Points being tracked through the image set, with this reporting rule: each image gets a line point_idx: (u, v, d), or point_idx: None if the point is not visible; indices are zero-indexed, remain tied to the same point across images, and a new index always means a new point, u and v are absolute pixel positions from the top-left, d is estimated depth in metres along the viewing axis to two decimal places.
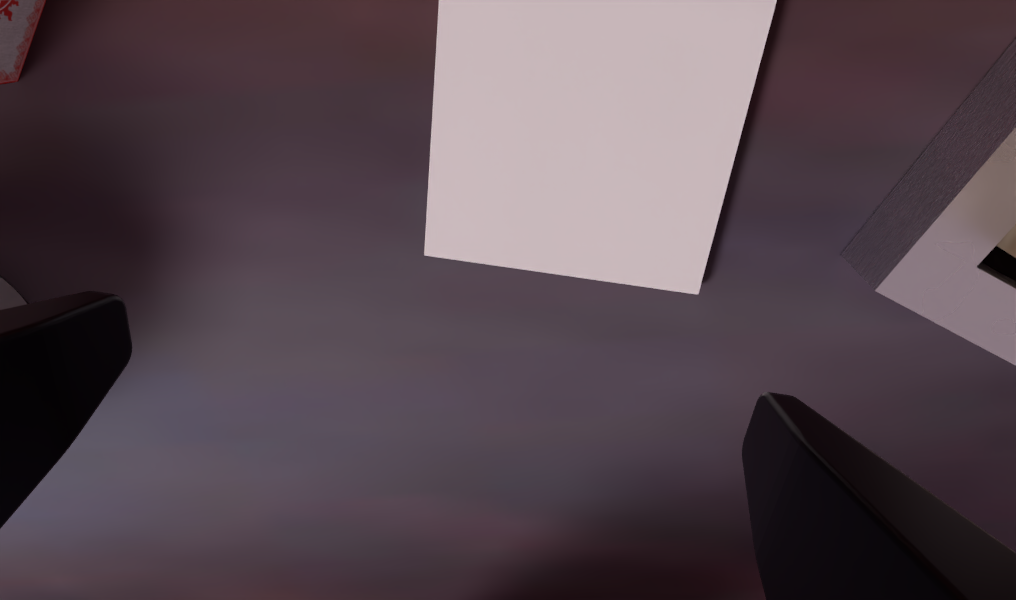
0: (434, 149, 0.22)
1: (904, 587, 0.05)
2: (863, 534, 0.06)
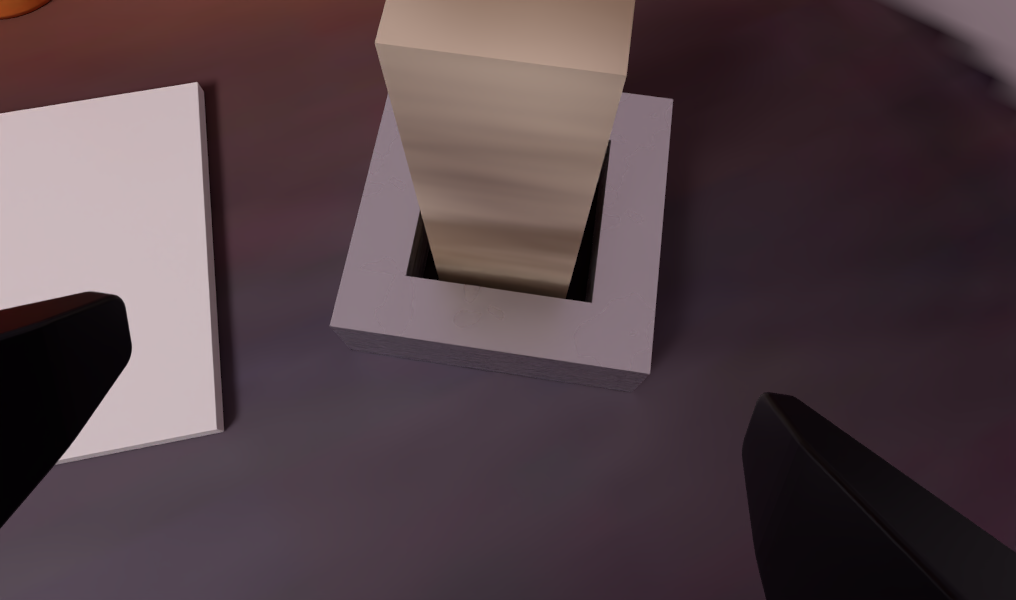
0: None
1: (904, 587, 0.05)
2: (863, 534, 0.06)
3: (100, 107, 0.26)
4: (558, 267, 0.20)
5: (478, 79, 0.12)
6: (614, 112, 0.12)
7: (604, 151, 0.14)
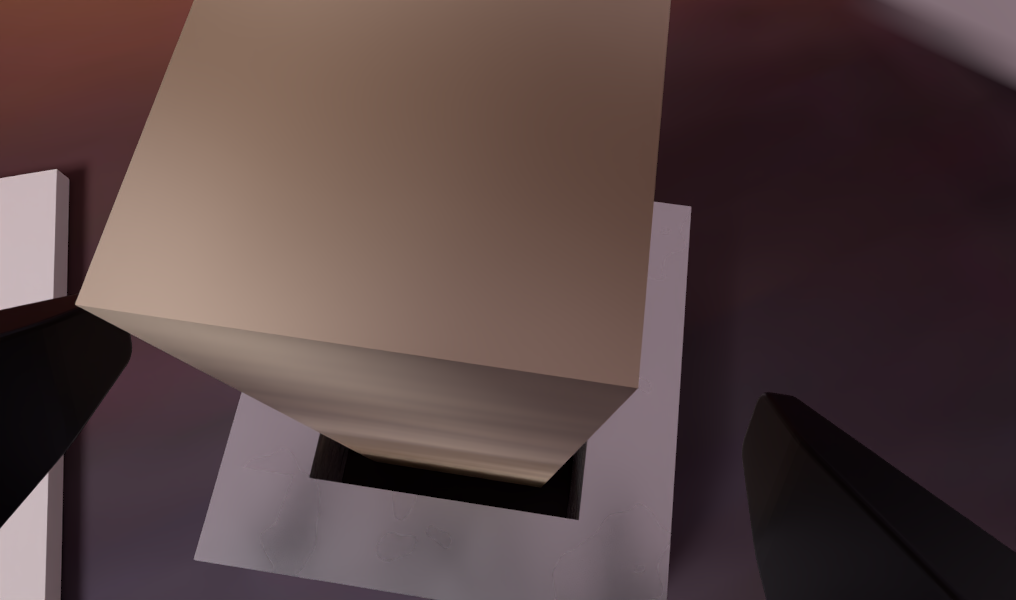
0: None
1: (904, 587, 0.05)
2: (863, 534, 0.06)
3: None
4: (529, 473, 0.14)
5: (324, 358, 0.06)
6: (611, 411, 0.06)
7: (592, 432, 0.07)
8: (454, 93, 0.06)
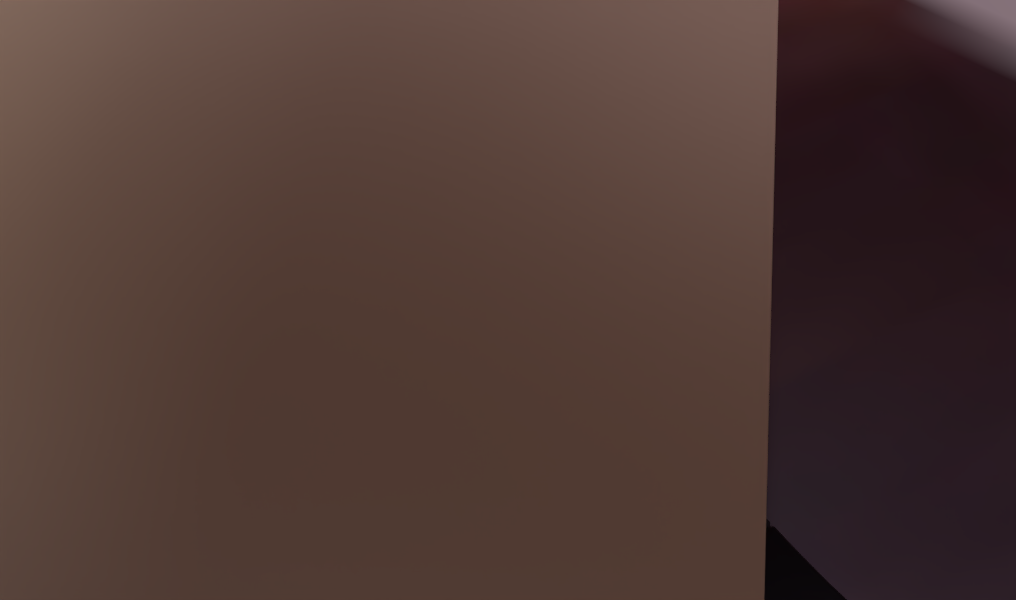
0: None
1: None
2: None
3: None
4: None
5: None
6: None
7: None
8: (309, 319, 0.03)
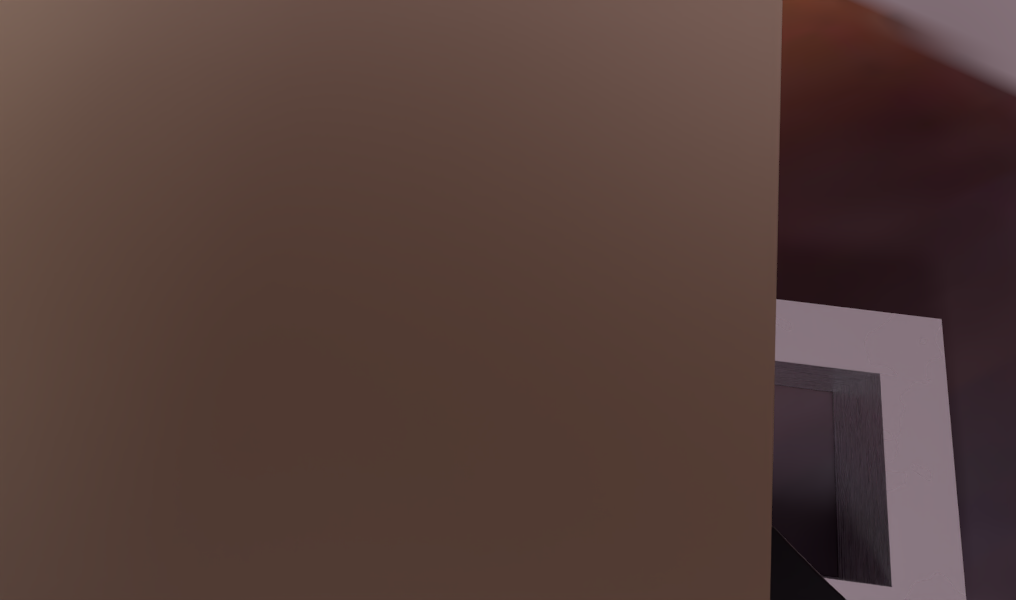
0: None
1: None
2: None
3: None
4: None
5: None
6: None
7: None
8: (316, 314, 0.03)
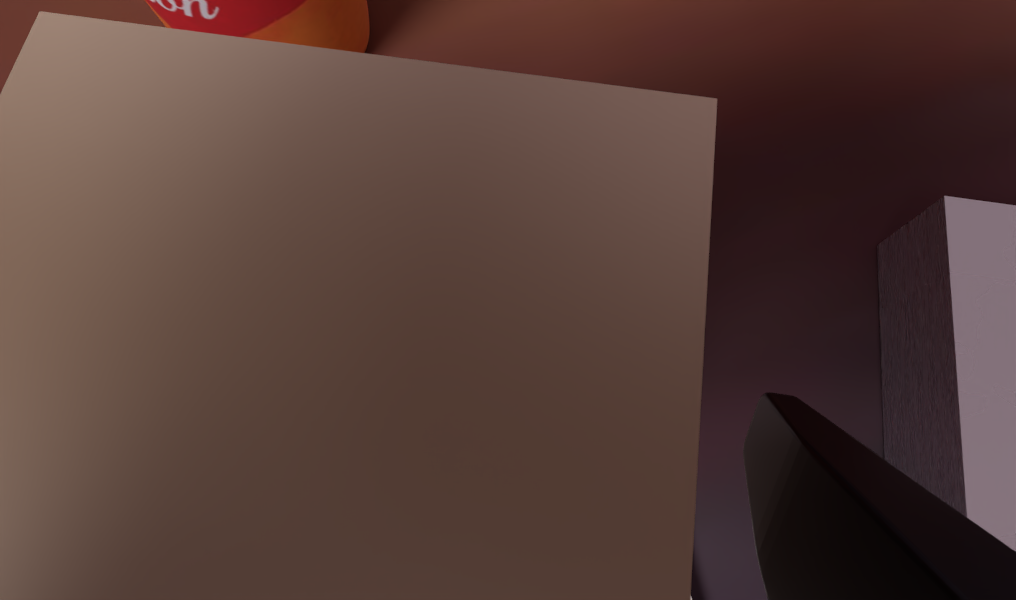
0: None
1: (906, 587, 0.05)
2: (865, 534, 0.06)
3: None
4: None
5: None
6: None
7: None
8: (360, 367, 0.04)
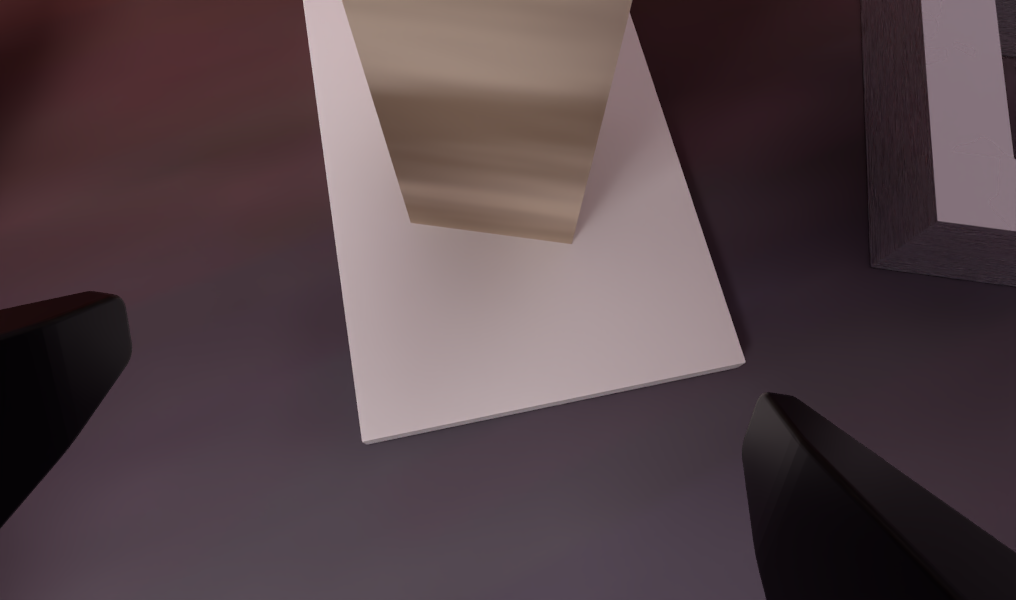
0: (347, 294, 0.17)
1: (904, 587, 0.05)
2: (863, 534, 0.06)
3: None
4: (567, 173, 0.14)
5: None
6: None
7: None
8: None
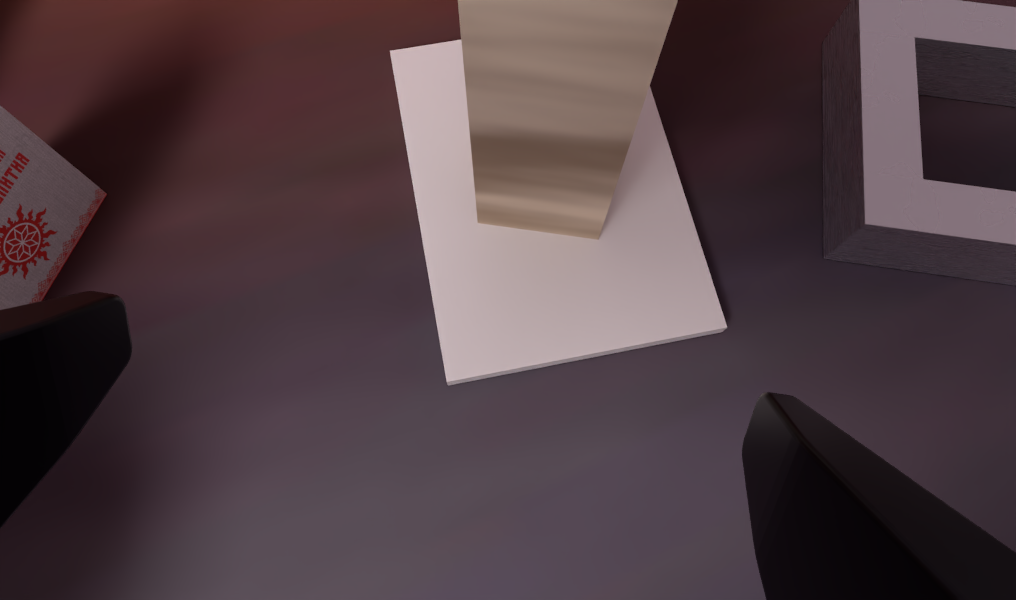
0: (432, 276, 0.23)
1: (904, 587, 0.05)
2: (863, 534, 0.06)
3: None
4: (599, 188, 0.20)
5: None
6: None
7: (664, 38, 0.14)
8: None
